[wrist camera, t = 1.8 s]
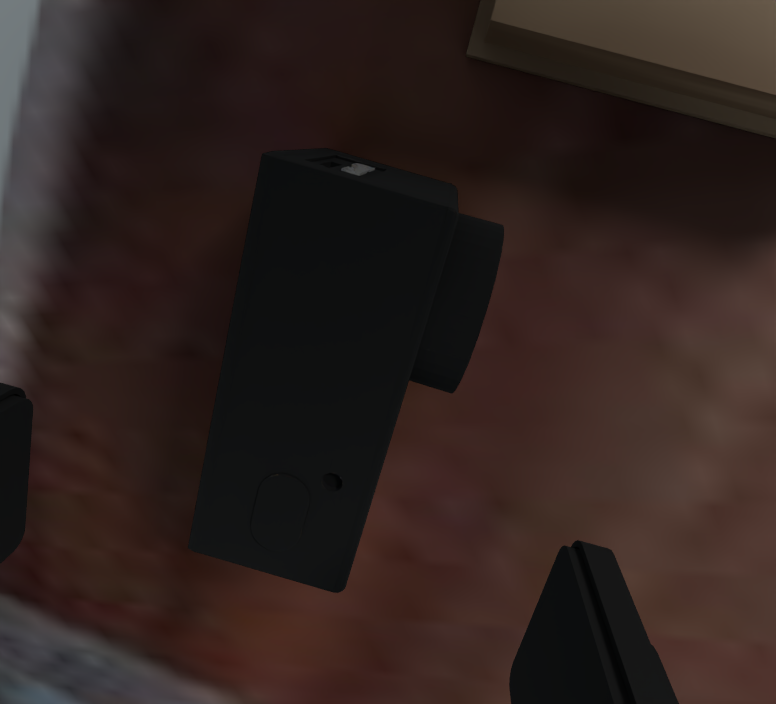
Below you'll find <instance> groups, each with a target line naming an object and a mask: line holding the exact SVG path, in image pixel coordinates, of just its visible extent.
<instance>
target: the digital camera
mask: <svg viewBox="0 0 776 704" xmlns="http://www.w3.org/2000/svg"><path fill="white" fill-rule="evenodd" d="M503 238H504V227H503V225H500V224H497V223H493V222H489V221H486V220H482V219H478V218H475V217H471V216H468V215H464V214H460V213H458V193H457V188H456V187H455V186H454V185H452V184H451V183H450V184H449V183H446V182H443V181H439V180H436V179H432V178H429V177H425V176H422V175H418V174H415V173H411V172H408V171H404V170H401V169H398V168H394V167H391V166H387V165H384V164H380V163H377V162H373V161H370V160H366V159H363V158H360V157H356V156H353V155H349V154H346V153H342V152H339V151H335V150H331V149H328V148H320V149H302V150H284V151H271V152H267V153H263V154H262V157H261V162H260V168H259V173H258V178H257V183H256V188H255V194H254V199H253V204H252V209H251V214H250V220H249V225H248V230H247V235H246V240H245V246H244V251H243V256H242V261H241V267H240V272H239V277H238V282H237V288H236V293H235V298H234V304H233V309H232V314H231V320H230V325H229V330H228V336H227V341H226V346H225V352H224V357H223V362H222V368H221V373H220V378H219V383H218V389H217V394H216V399H215V405H214V410H213V415H212V421H211V426H210V431H209V437H208V442H207V448H206V453H205V458H204V464H203V469H202V475H201V480H200V486H199V491H198V496H197V502H196V507H195V513H194V518H193V524H192V529H191V534H190V540H189V545H188V548H189V549H190V550H192V551H194V552H197V553H201V554H205V555H208V556H211V557H215V558H218V559H222V560H225V561H228V562H232V563H235V564H239V565H242V566H245V567H249V568H252V569H256V570H259V571H262V572H266V573H269V574H273V575H276V576H279V577H283V578H286V579H290V580H293V581H296V582H300V583H303V584H307V585H310V586H313V587H317V588H320V589H324V590H327V591H330V592H335V593H339V592H341V591H343V590H344V589H345V587H346V583H347V580H348V577H349V574H350V570H351V567H352V564H353V561H354V557H355V554H356V551H357V548H358V544H359V541H360V538H361V535H362V531H363V528H364V525H365V522H366V518H367V515H368V512H369V509H370V505H371V502H372V499H373V495H374V492H375V489H376V486H377V482H378V479H379V476H380V473H381V469H382V466H383V463H384V460H385V456H386V453H387V450H388V447H389V443H390V440H391V437H392V434H393V430H394V427H395V424H396V421H397V417H398V414H399V411H400V407H401V404H402V401H403V398H404V394H405V391H406V388H407V385H408V381H409V380H410V381H413V382H416V383H420V384H423V385H426V386H429V387H433V388H436V389H439V390H442V391H446V392H449V393H453V392H454V391H455V390H456V388H457V386H458V385H459V383H460V381H461V379H462V377H463V375H464V372H465V370H466V368H467V365H468V363H469V361H470V358H471V355H472V352H473V350H474V347H475V344H476V341H477V339H478V336H479V333H480V329H481V326H482V323H483V320H484V317H485V314H486V311H487V308H488V304H489V300H490V297H491V293H492V290H493V286H494V282H495V279H496V275H497V270H498V266H499V261H500V257H501V252H502V246H503Z"/></svg>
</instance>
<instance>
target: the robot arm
mask: <svg viewBox="0 0 776 704" xmlns="http://www.w3.org/2000/svg"><path fill="white" fill-rule="evenodd" d="M32 417H33V404H32V402H31V401H30V400H29V399H26V395H25V392H24V391H23V390H22V389H21V388H18V387H14V386H10V385H7V384H3V383H0V563H2V562H3V561H4V560H5V559H6V558H7V557H8V556H9V555H10V554H11V553H12V552H13V551H14V550H15V549H16V548H17V547H18V545H19V544H20V542H21V540H22V538H23V535H24V531H25V522H26V507H27V492H28V477H29V462H30V447H31V432H32ZM509 685H510V696H511V704H679V703H678V701H677V698H676V696H675V693H674V691H673V689H672V686H671V684H670V682H669V679H668V677H667V674H666V672H665V670H664V667H663V665H662V662H661V660H660V658H659V655H658V653H657V651H656V650H655V648H654V646H653V645H651V644H650V641H649V639H648V636H647V634H646V631H645V629H644V626H643V624H642V622H641V619H640V617H639V614H638V612H637V609H636V607H635V605H634V602H633V600H632V597H631V595H630V592H629V590H628V588H627V585H626V583H625V580H624V578H623V575H622V573H621V570H620V568H619V566H618V563H617V561H616V558H615V556H614V554H613V552H612V550H610V549H608V548H604V547H601V546H597V545H593V544H590V543H586V542H582V541H579V540H577V541H575V542H574V543H573V544H572V546H571V547H568V546H562V547H561V549H560V550H559V552H558V555H557V557H556V560H555V562H554V564H553V567H552V569H551V572H550V574H549V577H548V579H547V581H546V584H545V586H544V589H543V591H542V594H541V596H540V598H539V601H538V603H537V606H536V608H535V611H534V613H533V615H532V618H531V620H530V623H529V625H528V628H527V630H526V632H525V635H524V637H523V640H522V642H521V645H520V647H519V649H518V652H517V654H516V657H515V659H514V662H513V665H512V668H511V673H510V683H509Z"/></svg>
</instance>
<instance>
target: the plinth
mask: <svg viewBox="0 0 776 704" xmlns="http://www.w3.org/2000/svg"><path fill="white" fill-rule="evenodd" d="M466 57H469V58H473V59H477V60H480V61H484V62H488V63H492V64H495V65H499V66H503V67H507V68H511V69H514V70H518V71H522V72H526V73H529V74H533V75H537V76H541V77H545V78H548V79H552V80H556V81H560V82H564V83H567V84H571V85H575V86H579V87H582V88H586V89H590V90H594V91H598V92H601V93H605V94H609V95H613V96H616V97H620V98H624V99H628V100H632V101H635V102H639V103H643V104H647V105H650V106H654V107H658V108H662V109H666V110H669V111H673V112H677V113H681V114H684V115H688V116H692V117H696V118H700V119H703V120H707V121H711V122H715V123H718V124H722V125H726V126H730V127H734V128H737V129H741V130H745V131H749V132H752V133H756V134H760V135H764V136H768V137H771V138H775V139H776V0H480V4H479V8H478V11H477V15H476V19H475V23H474V26H473V30H472V34H471V38H470V41H469V45H468V49H467V53H466Z"/></svg>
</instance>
